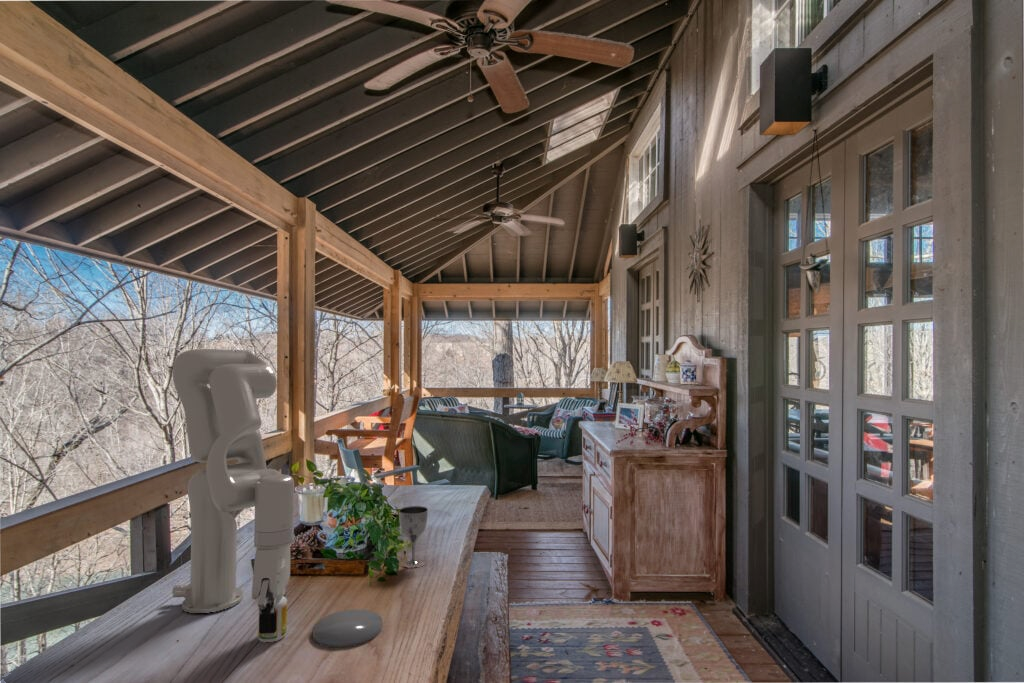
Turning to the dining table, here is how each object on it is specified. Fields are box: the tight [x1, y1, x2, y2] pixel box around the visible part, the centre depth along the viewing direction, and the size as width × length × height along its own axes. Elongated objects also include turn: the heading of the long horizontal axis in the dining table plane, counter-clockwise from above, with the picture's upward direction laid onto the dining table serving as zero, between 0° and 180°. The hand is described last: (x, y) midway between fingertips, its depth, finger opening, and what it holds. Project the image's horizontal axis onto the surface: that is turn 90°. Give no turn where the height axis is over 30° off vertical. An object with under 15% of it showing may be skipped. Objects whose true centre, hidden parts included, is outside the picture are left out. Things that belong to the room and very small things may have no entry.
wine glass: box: [398, 505, 429, 565], centre depth 153 cm, size 8×8×15 cm
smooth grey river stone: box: [312, 608, 383, 649], centre depth 115 cm, size 14×14×1 cm
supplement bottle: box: [257, 589, 288, 643], centre depth 112 cm, size 5×5×10 cm
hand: (272, 624), depth 112 cm, fingers closed on supplement bottle, 5 cm apart
